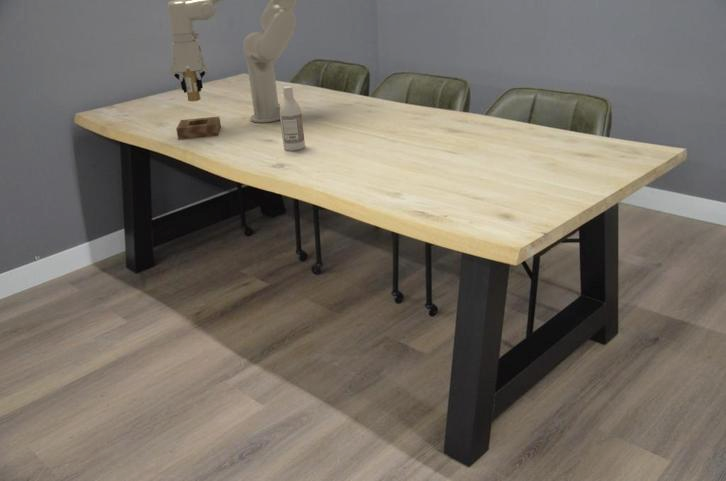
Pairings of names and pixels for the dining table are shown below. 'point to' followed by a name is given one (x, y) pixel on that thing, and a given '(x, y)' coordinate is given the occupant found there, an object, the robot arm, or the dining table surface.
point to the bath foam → (291, 122)
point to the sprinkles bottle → (191, 85)
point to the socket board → (198, 128)
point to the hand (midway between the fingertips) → (192, 90)
